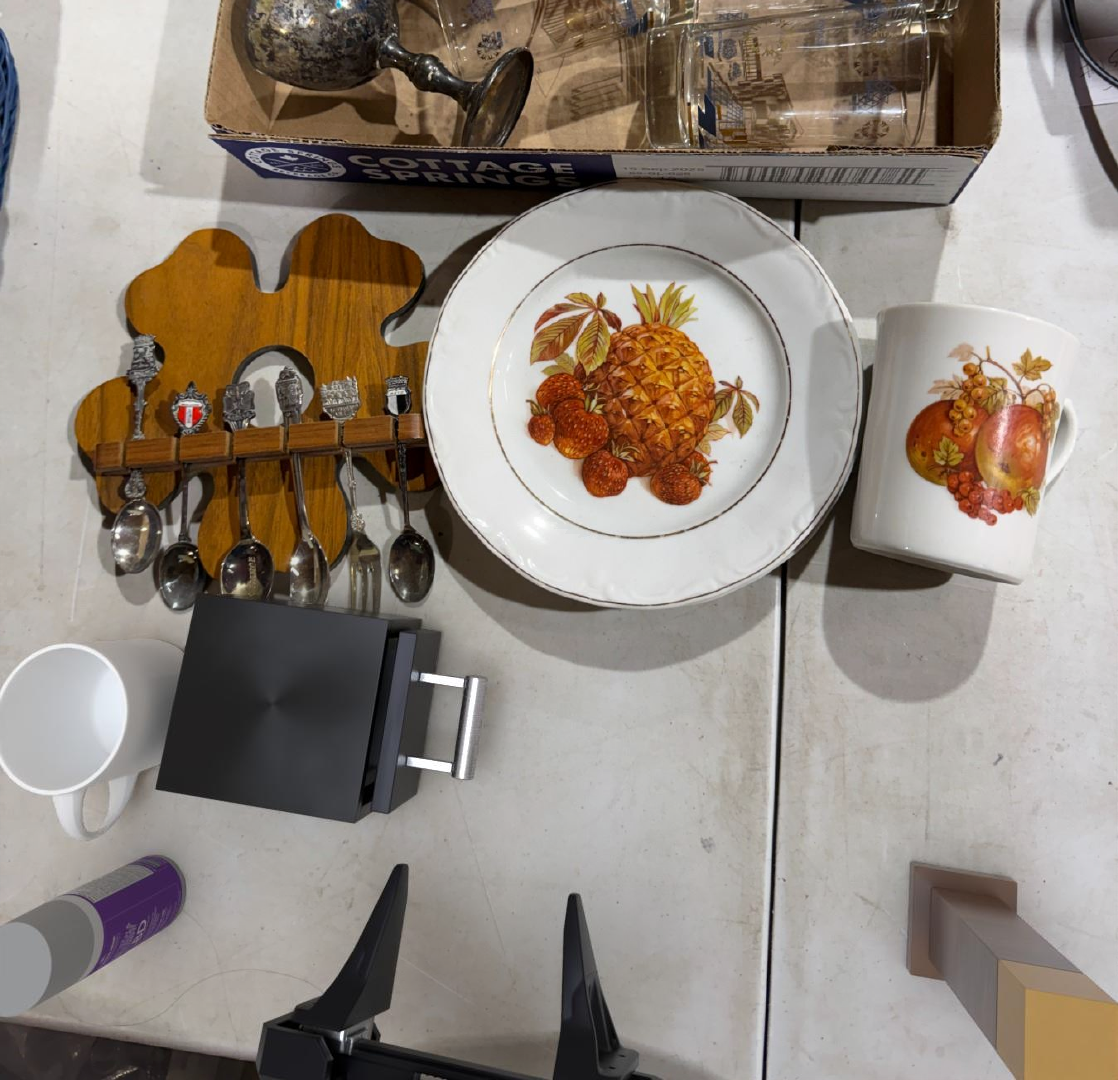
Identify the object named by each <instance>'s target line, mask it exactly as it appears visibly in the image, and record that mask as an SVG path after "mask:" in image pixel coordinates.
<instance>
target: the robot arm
mask: <svg viewBox="0 0 1118 1080" xmlns="http://www.w3.org/2000/svg"><path fill="white" fill-rule="evenodd" d="M409 866H410V865H409V864H408V863H404V862H403V863H402V862H401V863H396V864H395V865H394V866H393V868H392V870H391V872H390V874H389V877H388V878H387V881H386V883H385V885H384V886H383V889H382V890H381V893H380V895H379V897H378V899H377V901H376V903H375V906H374V907H373V909H372V911H371V913H370V916H369V917H368V919H367V922H366V924H365V926H364V927H363V930H362V932H361V934H360V935H359V938H358V940H357V941H356V944H355V946H354V948H353V949H352V951H351V953H350V955H349V957H348V958H347V960H346V961H345V963H344V964H343V966H342V967H341V970H340V971H339V973H338V974H337V975H336V977H335V978H334V980H333V981H332V983H331V984H330V985H329V986H328V987H327V989H325V991H324V992H323V993H322V994H321V995H318V996H316V997H313V998H311V999H309V1000H308V999H307V1000H305V1001H302V1002H301V1003H298V1004H296V1005H295V1007H294V1009H293V1010H292V1011H290V1012H288V1013H285V1014H282V1015H280V1016H278V1017H275V1018H273V1019H270V1020H267V1021H264V1022H262V1027H261V1033H260V1037H259V1043H258V1048H257V1051H256V1057H255V1063H254V1064H255V1066H256V1070H257V1074H258V1077H259V1080H421V1078H422V1075H425V1076H426V1077H433V1079H435V1078H436V1079H437V1078H438V1079H440V1080H549V1079H548V1078H543V1077H538V1076H535V1075H529V1074H525V1073H521V1072H516V1071H512V1070H508V1069H503V1068H498V1067H494V1066H489V1065H485V1064H481V1063H477V1062H471V1061H467V1060H463V1059H458V1058H454V1057H451V1056H444V1055H440V1054H436V1053H431V1052H427V1051H424V1050H418V1049H413V1048H410V1047H404V1046H400V1045H396V1044H392V1043H387V1042H383V1041H381V1036H382V1034H381V1031H380V1030H379V1028H378V1026H377V1024H376V1022H375V1017H376V1016H378V1015H380V1014H382V1013H385V1012H386V1011H388V1010H391V1009H390V1008H391V1004H392V998H393V991H394V984H395V980H396V973H397V968H398V967H397V966H398V960H399V954H400V947H401V941H402V935H403V929H404V921H405V916H406V911H407V910H406V909H407V904H408V897H409V896H408V895H409V877H410V867H409ZM585 913H586V912H585V909H584V905H583V900H582V895H581V894H580V893H579V892H571V893H569V894H568V896H567V901H566V907H565V916H564V924H563V929H562V930H563V932H562V961H561V963H562V964H561V966H562V967H561V997H560V998H561V1001H560V1003H561V1004H560V1027H559V1036H558V1041H557V1049H556V1055H555V1061H554V1067H553V1073H552V1080H664V1079H663V1078H661V1077H660V1076H657V1075H655V1074H651V1073H646V1072H641V1071H636V1070H637V1068H638V1067H639V1066H640V1053H639V1052H638V1051H637V1050H635V1049H632V1048H628V1047H624V1046H623V1045H622V1044H621V1042H620V1039H619V1035H618V1033H617V1030H616V1027H615V1024H614V1021H613V1019H612V1015H611V1012H610V1009H609V1006H608V1003H607V1001H606V997H605V994H604V991H603V987H602V985H601V981H600V976H599V972H598V968H597V964H596V959H595V955H594V950H593V946H592V941H591V937H590V936H591V935H590V931H589V927H588V922H587V918H586V914H585Z"/></svg>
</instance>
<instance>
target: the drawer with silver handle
mask: <svg viewBox="0 0 1118 1080" xmlns="http://www.w3.org/2000/svg"><path fill="white" fill-rule="evenodd" d="M441 638H442V631H441V630H435V629H429V628H423V629H422V628H421V629H420V630H406V631H400V632H399V636H394V635H389V641H388V648H387V654H386V660H385V666H384V672H383V678H382V684H381V690H380V696H379V702H378V708H377V714H376V720H375V726H374V733H373V739H372V745H371V751H370V757H369V763H368V769H367V775H366V781H365V786H367V785H369V784H371V783H372V782H374V781H375V783H374V789H373V796H372V802H371V808H370V811H371V812H372V813H378V814H384V815H389V814H391V813H392V812H394V811H396V810H397V809H398V808H399V807H401V806H402V805H404V804H405V803H406V802H408V801H409V800H411V799H412V798H413V797H415V796H417V795H418V789H419V782H420V777H421V776H420V775H421V771H422V770H428V771H429V770H430V771H434V772H439V773H446V774H451V778H453V779H456V780H460V781H461V780H462V781H472V780H474V779H475V771H476V765H477V760H478V759H477V757H478V751H479V745H480V743H479V742H480V737H481V730H482V723H483V716H484V710H485V709H484V708H485V701H486V695H487V688H488V687H487V686H488V681H489V679H488V677H486V676H482V675H477V674H466V675H465V677H464V676H463V677H462V676H455V675H450V674H443V673H438V672H437V673H436V670H437V664H438V657H439V651H440V644H441ZM434 685H438V686H445V687H452V688H459V689H463V691H462V692H463V693H462V697H461V705H460V712H459V720H458V727H457V732H456V739H455V747H454V754H453V760H452V761H451V760H445V759H439V758H432V757H426V756H423V755H424V751H425V743H426V736H427V730H428V724H429V723H428V722H429V715H430V712H431V711H430V710H431V703H432V696H433V690H434Z"/></svg>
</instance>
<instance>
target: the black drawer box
mask: <svg viewBox="0 0 1118 1080" xmlns="http://www.w3.org/2000/svg"><path fill="white" fill-rule="evenodd" d="M250 595H251V594H246V595H243V593H242V594H240V593H217V592H216V593H215V592H211V593H210V592H196V595H195V598H194V605H193V609H192V612H191V613H192V614H191V618H190V622H189V627H188V631H187V632H188V633H187V637H186V642H185V646H184V651H183V652H184V655H183V660H182V665H181V670H180V674H179V679H178V684H177V688H176V693H175V698H174V703H173V707H172V712H171V717H170V721H169V726H168V731H167V736H166V740H165V745H164V750H163V754H162V759H161V764H159V769H158V772H157V778H156V782H155V789H154V790H156V791H161V792H167V793H172V794H176V795H177V794H178V795H182V796H183V795H184V796H190V797H196V798H202V799H206V800H207V799H208V800H213V801H217V802H218V801H219V802H225V803H230V804H236V805H243V806H247V807H254V808H260V809H266V810H271V811H276V812H277V811H278V812H284V813H289V814H294V815H295V814H296V815H301V816H307V817H312V818H318V819H323V820H324V819H325V820H330V821H335V822H341V823H347V824H353V825H356V824H357V823H358V822H360V821H361V820H363V819H364V818H366V817H368V816H370V815H371V814H372V813H373V812H371V811H370V808H371V802H372V796H373V789H374V783H375V781H374V782H372V783H371V784H369V785H367V786H365V781H366V775H367V769H368V763H369V757H370V751H371V745H372V739H373V733H374V726H375V720H376V714H377V708H378V702H379V696H380V690H381V684H382V678H383V672H384V666H385V660H386V654H387V648H388V641H389V635H394V636H399V632H400V631H406V630H420V629H422V622H423V619H422V618H420V617H419V618H418V617H414V616H413V617H412V616H405V615H401V614H400V615H398V614H391V613H383V612H378V611H371V610H364V609H356V608H350V607H349V608H348V607H343V606H342V607H341V606H335V605H327V604H321V603H314V604H307V603H308V602H307V603H300V602H301V601H300V602H294V601H295V600H293V599H284V598H277V597H272V596H265V595H256V594H252V595H253V596H250ZM259 596H260V597H259ZM315 604H317V605H315Z"/></svg>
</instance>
